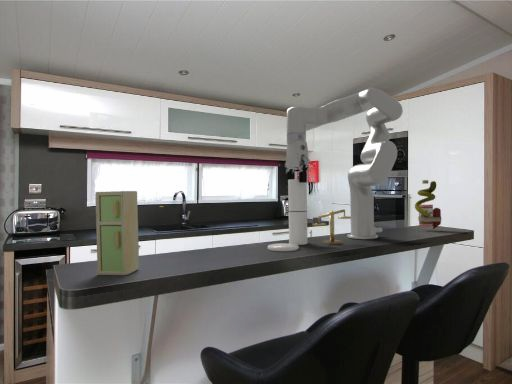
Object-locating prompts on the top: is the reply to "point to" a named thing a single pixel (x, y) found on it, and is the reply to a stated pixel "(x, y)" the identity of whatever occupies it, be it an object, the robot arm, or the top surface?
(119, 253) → the toy refrigerator
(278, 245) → the dish
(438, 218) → the snake in a can
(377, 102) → the robot arm
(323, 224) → the balance
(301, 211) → the cylindrical container
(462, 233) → the top surface
